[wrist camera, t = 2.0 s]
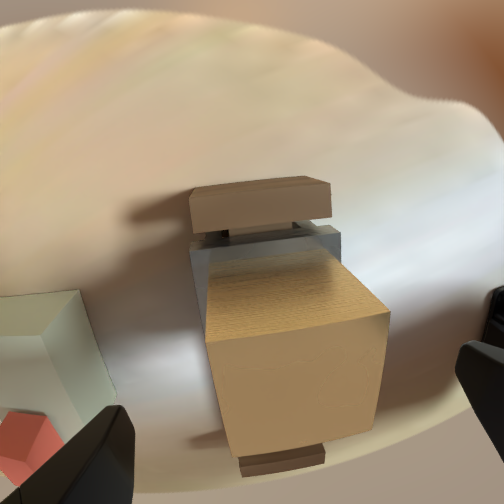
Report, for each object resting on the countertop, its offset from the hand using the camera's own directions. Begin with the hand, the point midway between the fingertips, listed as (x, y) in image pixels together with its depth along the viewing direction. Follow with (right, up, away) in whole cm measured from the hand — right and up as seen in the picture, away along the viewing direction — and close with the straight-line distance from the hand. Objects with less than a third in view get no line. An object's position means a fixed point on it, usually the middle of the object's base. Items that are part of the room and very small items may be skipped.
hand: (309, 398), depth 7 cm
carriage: (-1, +3, +8) cm, 9 cm away
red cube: (-12, -5, +5) cm, 14 cm away
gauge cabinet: (-13, -2, +8) cm, 15 cm away
